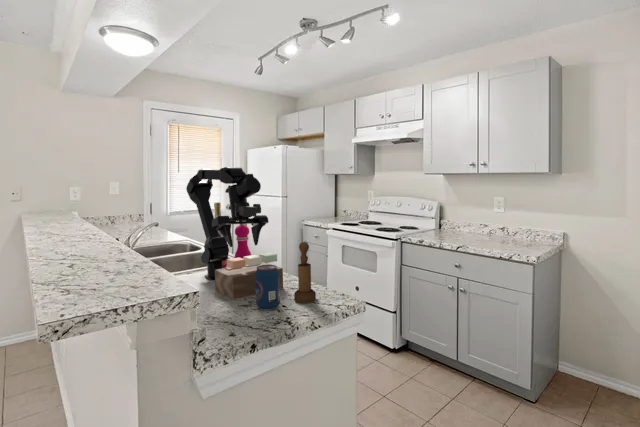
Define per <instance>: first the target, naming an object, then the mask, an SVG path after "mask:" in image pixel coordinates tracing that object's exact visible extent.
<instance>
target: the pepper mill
mask: <svg viewBox="0 0 640 427" xmlns="http://www.w3.org/2000/svg"><path fill="white" fill-rule="evenodd" d="M234 234H235V235H236V239H235V240H236V241H237V247H236V248H237V249H236V252H235V254H234V258H242V259H244V257H245V256H251V255H252V253H251V250H250V248H249V245H248V244H249V243H248V241H249V234H250V228H249V227H248V226H247V225H246V224H238V225H237V226H236V227H235V229H234Z"/></svg>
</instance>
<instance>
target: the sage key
mask: <svg viewBox="0 0 640 427" xmlns="http://www.w3.org/2000/svg"><path fill="white" fill-rule="evenodd" d="M258 256H261V257H262V262H264V263H268V264H271V263H274V262H278V254H277V253H274V252H266V253H265V252H263V253H260V254H259V255H258Z"/></svg>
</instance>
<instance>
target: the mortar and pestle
mask: <svg viewBox="0 0 640 427" xmlns="http://www.w3.org/2000/svg"><path fill="white" fill-rule="evenodd" d="M309 248H310V245H309V243H308V242H307V241H303V242H300V243H299V245H298V249H299V251H300V253H301V256H300V262H301V263H298V264H297V273H298V275H297V277H298V278H297V279H298V280H297V281H298V288H297V289H296V291H295V292H294V293H293V295H294V296H293V299H294V302H295V303H299V304H309V303H314V302H315V301H316V300H317V295H316V294H317V293H316V291H315V290H314V289H312V269H311V263H309V262H308V260H309V259H308V258H309V257H308V255H307V254H308V251H309Z"/></svg>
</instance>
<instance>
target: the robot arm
mask: <svg viewBox="0 0 640 427" xmlns="http://www.w3.org/2000/svg"><path fill="white" fill-rule="evenodd" d="M243 169H244V168H242V166H241V167H238V166H224V167H221V168H220V169H211V168H201V169H198V170H197V173H196V174H195V175H194V176H192V177H190V179H189V181H188V183H187V185H186V188H185V189H186V190H185V191H186V192H187V194H188V197H189V200H190V201H191V202H193V204H195V205H196V208H197V212H198V215H199V218H200V221H201V225H202V229H203V231H204V235H205V238H206V239H205V241H204V245H203V248H204V251H203V252H202V254H201V256H200V260H201V263H202V264H206V265H207V266H206V268H207V274H206V275H204V277H205V278H206V279H207V280H210V281H212V280H215V270H216V269H222V268H223V263H222V261H225V260H227V259H229V255H230V254H229V253H230V252H229V251H230V248H232V247H233V239H232V238H233V237H232V232H231V229H232V225H240V224H244V225H248V224H249V225H251V227H250V230H251V234H252V238H253V239H252V241H253V243H254V246H258V244H259V238H260V233H261V230H262V228H263V227H265V226H266V225H267V224H268V223H269V217H268V216H267V215H265V214H264V215H262V214H261V213H262V207H261V203H254V204H252V206H250V203H249V202H248V201H247V198H250V197H252V196H253V195H255V194H257V193H259V192H260V190H261V186H262V184H261V182H260V181H259V180H258V179H257V177H255V176H254V174H253V173H245V171H244V170H243ZM202 180H207V181H202ZM213 180H216V181H218V180H219V182H220V183H223V184H226V185H228V184H229V185H228V186H227V188H226V189H225V193H227V194H228V199H229V206H228V210H229V211H230V212H231V213H230V215H231V217H230V216H229V215H221V216H218V217H216V218H215V215H214V214H213V211H212V207H211V204H210V197H211V190H212V188H213V186H214V185H213ZM230 184H231V185H230ZM232 184H233V185H232ZM258 214H260V215H258ZM214 218H215V219H214ZM218 230H219V231H220V232H221V234H222V235H223V236H224V237H221V236H220V235H219V233H218ZM229 247H230V248H229Z"/></svg>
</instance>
